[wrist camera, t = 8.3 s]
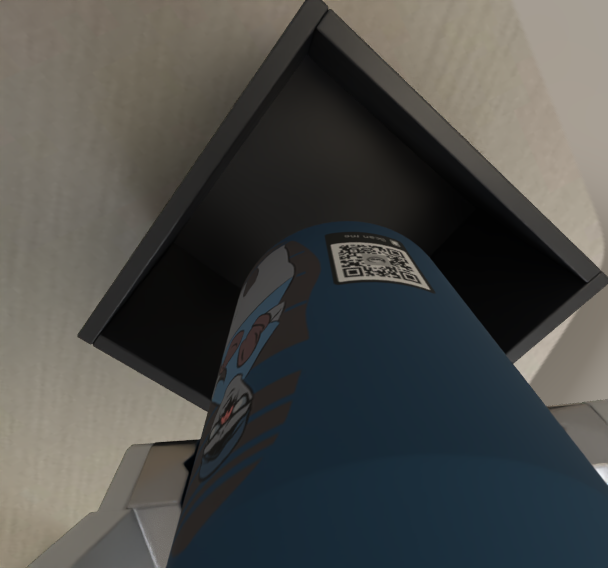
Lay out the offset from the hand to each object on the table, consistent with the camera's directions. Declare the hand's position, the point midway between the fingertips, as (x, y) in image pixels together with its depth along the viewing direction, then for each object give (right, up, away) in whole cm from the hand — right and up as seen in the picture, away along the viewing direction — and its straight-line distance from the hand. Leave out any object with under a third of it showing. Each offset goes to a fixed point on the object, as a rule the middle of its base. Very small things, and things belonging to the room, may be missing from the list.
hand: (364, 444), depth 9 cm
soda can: (0, +3, +6) cm, 7 cm away
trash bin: (0, +7, +15) cm, 17 cm away
